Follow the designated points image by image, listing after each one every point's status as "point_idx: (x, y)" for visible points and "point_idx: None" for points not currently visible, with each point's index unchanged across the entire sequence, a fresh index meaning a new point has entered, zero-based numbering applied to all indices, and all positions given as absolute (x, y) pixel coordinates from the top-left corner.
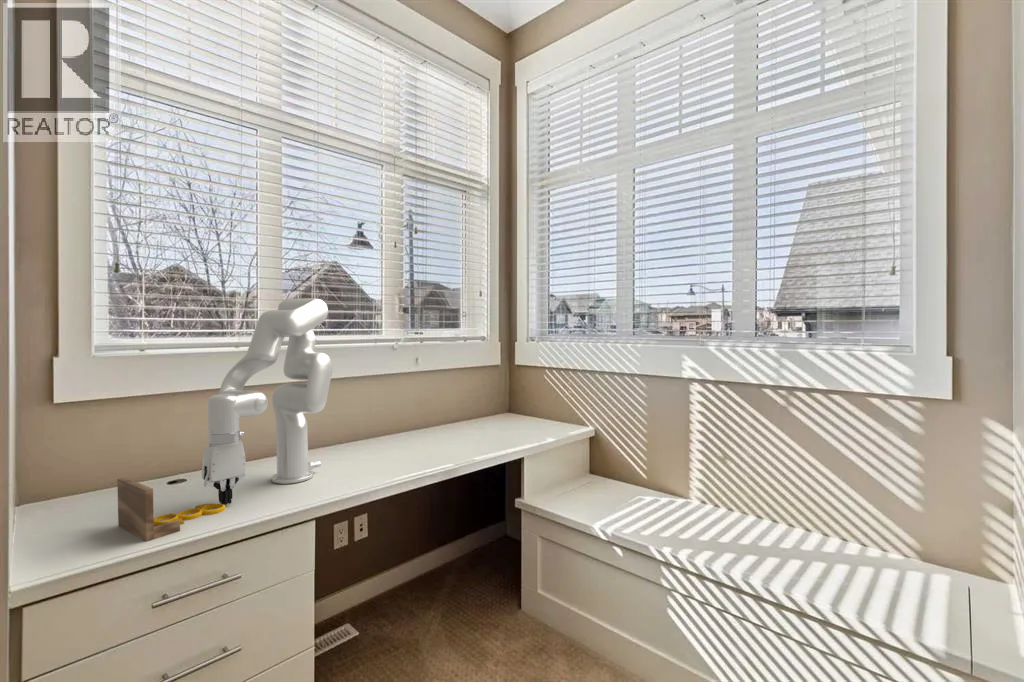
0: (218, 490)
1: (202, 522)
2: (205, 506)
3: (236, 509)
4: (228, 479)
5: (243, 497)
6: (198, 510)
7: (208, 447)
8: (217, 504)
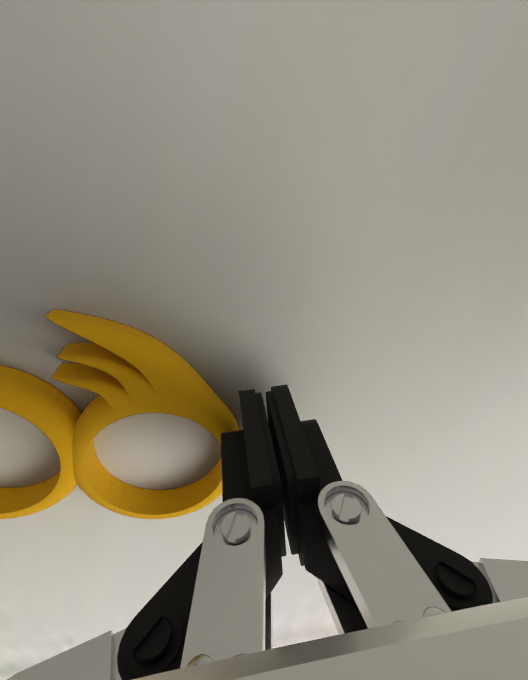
0: (223, 513)
1: (62, 570)
2: (113, 421)
3: None
4: (386, 605)
5: (436, 324)
6: (57, 433)
7: None
8: (206, 425)
